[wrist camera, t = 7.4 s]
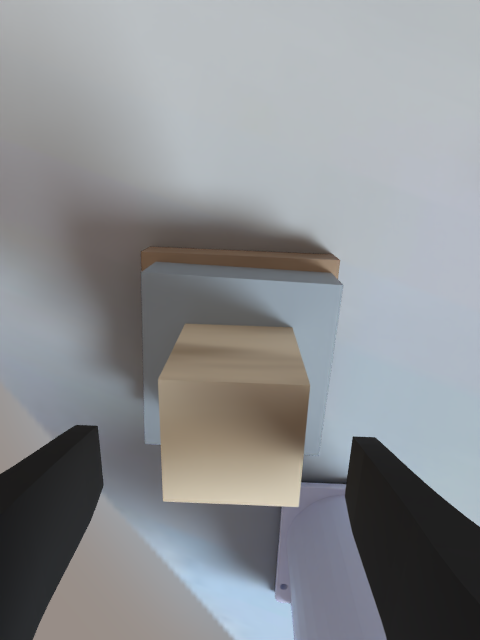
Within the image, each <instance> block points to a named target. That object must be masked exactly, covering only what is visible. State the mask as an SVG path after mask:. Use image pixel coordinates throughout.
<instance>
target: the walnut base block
mask: <svg viewBox="0 0 480 640" xmlns="http://www.w3.org/2000/svg"><path fill="white" fill-rule="evenodd" d="M155 262H170V263H186V264H202V265H217V266H233V267H249V268H264V269H280V270H296V271H312V272H327V273H332V274H333V275H334V276H335V277H336V278H337V279H338V273H339V265H340V260H339V259H338V258H337V257H335V256H334V255H333V254H314V253H290V252H266V251H242V250H219V249H195V248H171V247H149V248H147V249H145V250H143V251H141V267H142V271H143V270H145V269H146V268H148V267H149V266H150V265H152V264H153V263H155Z"/></svg>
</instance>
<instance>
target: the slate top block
mask: <svg viewBox="0 0 480 640" xmlns="http://www.w3.org/2000/svg"><path fill="white" fill-rule="evenodd" d="M342 291H343V284H342V283H341V282H340V281H339V280H338V279H337V278H336V277H335V276H334V275H333V274H332V273H327V272H312V271H296V270H280V269H264V268H249V267H233V266H217V265H202V264H186V263H170V262H155V263H153V264H152V265H150V266H149V267H148V268H146V269H145V270H143V271H142V272H141V295H142V342H143V388H144V434H145V444H153V445H161V440H160V416H159V392H158V378H159V376H160V374H161V372H162V370H163V368H164V366H165V364H166V362H167V360H168V358H169V356H170V354H171V352H172V350H173V348H174V346H175V343H176V341H177V339H178V337H179V335H180V333H181V331H182V329H183V327H184V325H185V324H212V325H240V326H267V327H292V328H293V331H294V334H295V337H296V341H297V344H298V347H299V350H300V354H301V357H302V360H303V363H304V366H305V370H306V373H307V376H308V379H309V383H310V394H309V404H308V415H307V425H306V435H305V446H304V455H312V456H319V451H320V444H321V437H322V430H323V423H324V416H325V409H326V402H327V395H328V388H329V381H330V374H331V368H332V361H333V354H334V347H335V340H336V333H337V326H338V319H339V312H340V305H341V298H342Z"/></svg>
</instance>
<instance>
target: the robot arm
mask: <svg viewBox="0 0 480 640" xmlns="http://www.w3.org/2000/svg"><path fill="white" fill-rule="evenodd" d="M102 488H103V475H102V465H101V455H100V445H99V435H98V426H87V425H76V426H74V427H72V428H71V429H69V430H67V431H66V432H64V433H63V434H61V435H60V436H58V437H57V438H55V439H54V440H52V441H51V442H49V443H48V444H46V445H45V446H43V447H42V448H40V449H39V450H37V451H36V452H34V453H33V454H31V455H30V456H28V457H27V458H25V459H23V460H22V461H21V462H19V463H18V464H16V465H15V466H13V467H11V468H10V469H8V470H6V471H5V472H3V473H1V474H0V640H33V637H34V635H35V632H36V630H37V627H38V625H39V623H40V621H41V619H42V616H43V614H44V612H45V610H46V607H47V606H48V603H49V602H50V600H51V598H52V596H53V594H54V592H55V590H56V588H57V586H58V584H59V582H60V580H61V578H62V576H63V574H64V572H65V570H66V568H67V567H68V565H69V563H70V560H71V559H72V557H73V555H74V553H75V551H76V549H77V547H78V545H79V543H80V541H81V539H82V537H83V535H84V533H85V531H86V529H87V527H88V525H89V523H90V521H91V518H92V516H93V513H94V510H95V508H96V505H97V502H98V500H99V497H100V494H101V491H102ZM275 599H276V600H277V601H278V602H280V603H291V610H292V620H293V631H294V640H480V527H479V526H478V525H476V524H475V523H474V522H472V521H471V520H470V519H468V518H467V517H466V516H464V515H463V514H462V513H461V512H459V511H458V510H457V509H456V508H454V507H453V506H452V505H451V504H449V503H448V502H447V501H446V500H444V499H443V498H442V497H441V496H440V495H439V494H437V493H436V492H435V491H434V490H433V489H431V488H430V487H429V486H428V485H427V484H426V483H425V482H423V481H422V480H421V479H420V478H419V477H418V476H417V475H416V474H414V473H413V472H412V471H411V470H410V469H409V468H408V467H407V466H406V465H405V464H404V463H402V462H401V461H400V460H399V459H398V458H397V457H396V456H395V455H394V454H393V453H392V452H391V451H390V450H388V449H387V448H386V447H385V446H384V445H383V444H382V443H381V442H380V441H378V440H377V439H376V438H375V437H353V440H352V447H351V454H350V462H349V469H348V476H347V483H346V484H327V483H305V482H301V487H300V498H299V507H284V506H282V507H281V520H280V533H279V546H278V558H277V571H276V584H275Z"/></svg>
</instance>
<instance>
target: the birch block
mask: <svg viewBox="0 0 480 640" xmlns="http://www.w3.org/2000/svg"><path fill="white" fill-rule="evenodd" d="M158 392H159V416H160V440H161V465H162V489H163V501H164V502H188V503H212V504H236V505H260V506H284V507H299V498H300V487H301V477H302V467H303V456H304V446H305V435H306V425H307V415H308V404H309V394H310V383H309V379H308V376H307V373H306V370H305V366H304V363H303V360H302V357H301V354H300V350H299V347H298V344H297V341H296V337H295V334H294V331H293V328H292V327H267V326H240V325H212V324H185V325H184V327H183V329H182V331H181V333H180V335H179V337H178V339H177V341H176V343H175V346H174V348H173V350H172V352H171V354H170V356H169V358H168V360H167V362H166V364H165V366H164V368H163V370H162V372H161V374H160V376H159V378H158Z"/></svg>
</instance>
